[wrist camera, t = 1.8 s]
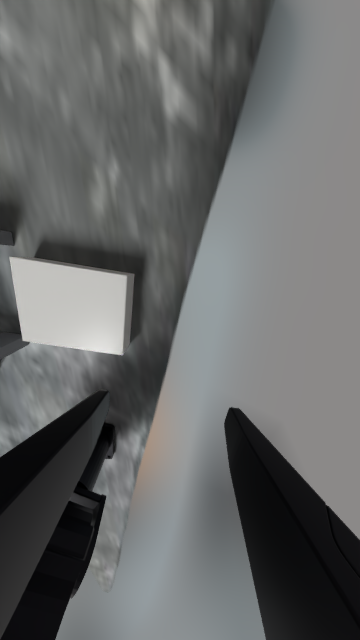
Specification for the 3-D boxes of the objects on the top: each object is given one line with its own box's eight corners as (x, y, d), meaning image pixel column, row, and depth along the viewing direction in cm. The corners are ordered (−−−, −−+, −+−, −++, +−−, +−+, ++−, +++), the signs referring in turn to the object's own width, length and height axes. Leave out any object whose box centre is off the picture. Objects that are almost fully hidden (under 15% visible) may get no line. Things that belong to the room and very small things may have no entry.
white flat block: (129, 344, 20) (122, 355, 17) (42, 331, 19) (22, 340, 17) (134, 273, 17) (126, 275, 15) (33, 257, 17) (9, 256, 14)
